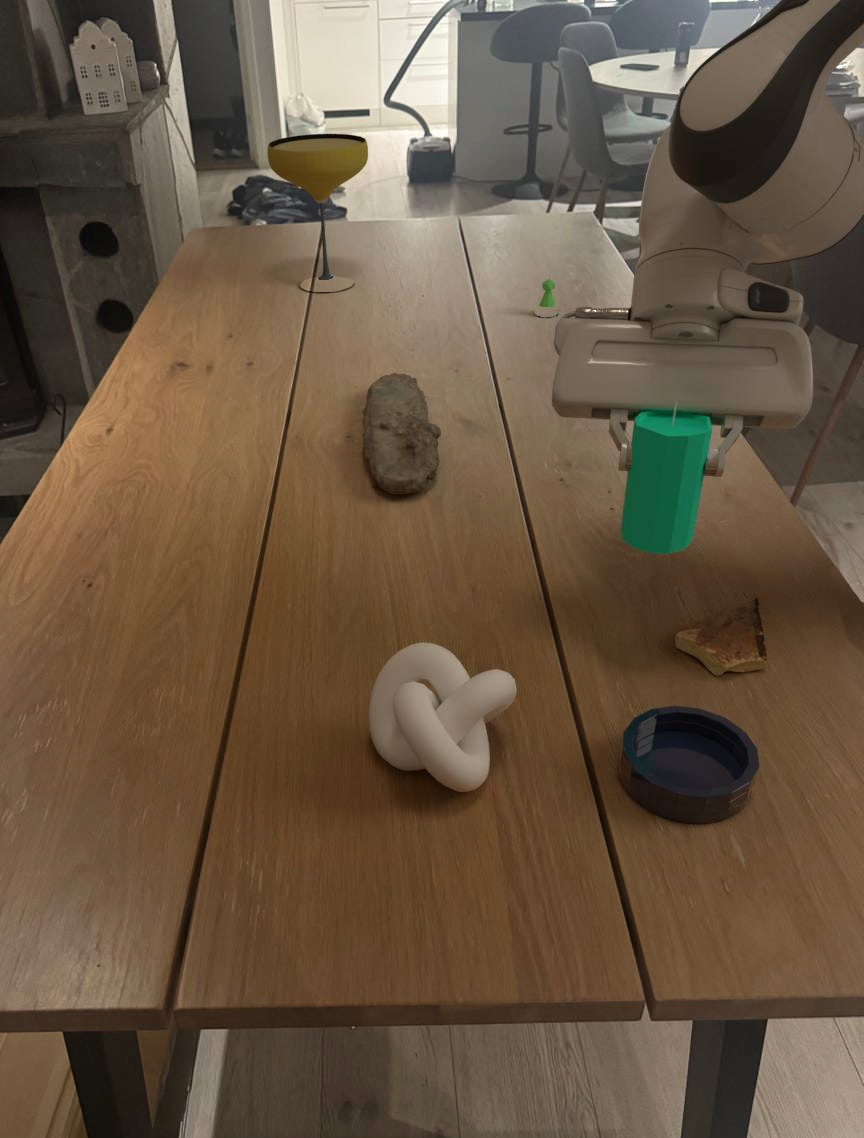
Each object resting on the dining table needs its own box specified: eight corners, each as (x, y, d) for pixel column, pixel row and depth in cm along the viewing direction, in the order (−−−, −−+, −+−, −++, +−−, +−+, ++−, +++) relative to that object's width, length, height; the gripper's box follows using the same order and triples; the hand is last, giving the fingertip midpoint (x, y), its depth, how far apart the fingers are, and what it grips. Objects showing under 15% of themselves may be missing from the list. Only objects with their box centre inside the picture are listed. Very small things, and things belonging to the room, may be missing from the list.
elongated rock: (427, 396, 143) (361, 403, 144) (425, 361, 140) (358, 368, 141) (450, 495, 114) (367, 503, 114) (448, 454, 111) (362, 462, 111)
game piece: (529, 314, 168) (531, 279, 165) (545, 308, 171) (547, 273, 167) (548, 319, 166) (550, 284, 162) (564, 313, 168) (566, 278, 164)
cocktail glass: (276, 276, 192) (262, 137, 178) (365, 268, 195) (358, 130, 180) (285, 303, 178) (271, 154, 163) (380, 294, 180) (375, 147, 165)
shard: (754, 609, 94) (757, 594, 93) (816, 649, 89) (821, 634, 88) (670, 643, 90) (673, 628, 89) (730, 688, 85) (733, 672, 84)
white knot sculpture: (468, 691, 86) (471, 609, 80) (548, 773, 77) (557, 687, 72) (356, 734, 82) (350, 651, 76) (427, 826, 73) (426, 739, 68)
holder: (768, 763, 77) (776, 735, 76) (724, 844, 71) (732, 815, 69) (648, 717, 82) (653, 690, 80) (597, 789, 76) (601, 761, 74)
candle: (661, 562, 78) (683, 425, 71) (605, 534, 82) (620, 401, 75) (707, 536, 81) (732, 402, 74) (650, 510, 85) (669, 380, 78)
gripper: (557, 287, 78) (539, 450, 76) (825, 295, 74) (813, 467, 72) (557, 324, 84) (541, 475, 82) (805, 333, 80) (793, 492, 78)
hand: (670, 471), depth 77 cm, fingers closed on candle, 5 cm apart
